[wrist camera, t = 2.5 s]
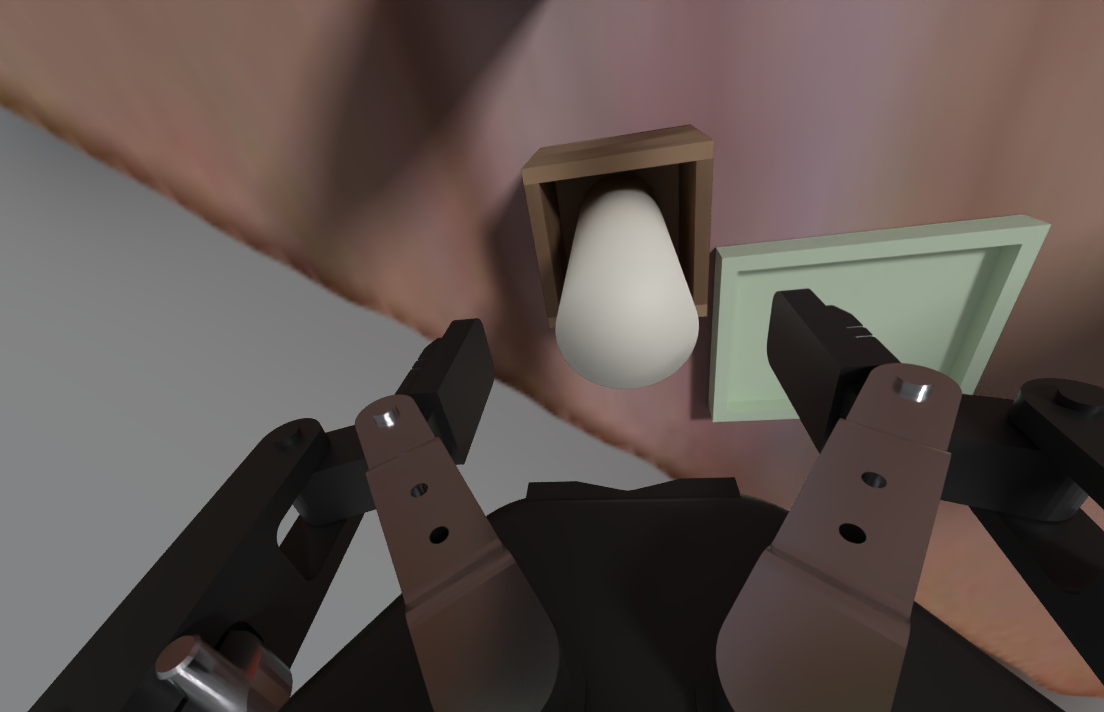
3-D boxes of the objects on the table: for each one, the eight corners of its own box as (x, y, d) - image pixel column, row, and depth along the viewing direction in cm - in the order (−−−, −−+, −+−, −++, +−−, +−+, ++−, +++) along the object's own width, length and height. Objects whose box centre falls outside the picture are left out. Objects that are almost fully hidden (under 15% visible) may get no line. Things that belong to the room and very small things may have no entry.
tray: (1022, 214, 21) (1051, 224, 19) (946, 395, 26) (964, 412, 25) (715, 247, 23) (722, 258, 22) (707, 406, 29) (712, 422, 28)
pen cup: (690, 124, 20) (714, 140, 16) (688, 269, 24) (706, 316, 19) (539, 148, 21) (521, 169, 17) (560, 282, 25) (549, 329, 21)
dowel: (657, 168, 21) (701, 258, 11) (659, 248, 23) (696, 385, 13) (575, 180, 21) (544, 274, 12) (584, 256, 24) (565, 392, 14)
